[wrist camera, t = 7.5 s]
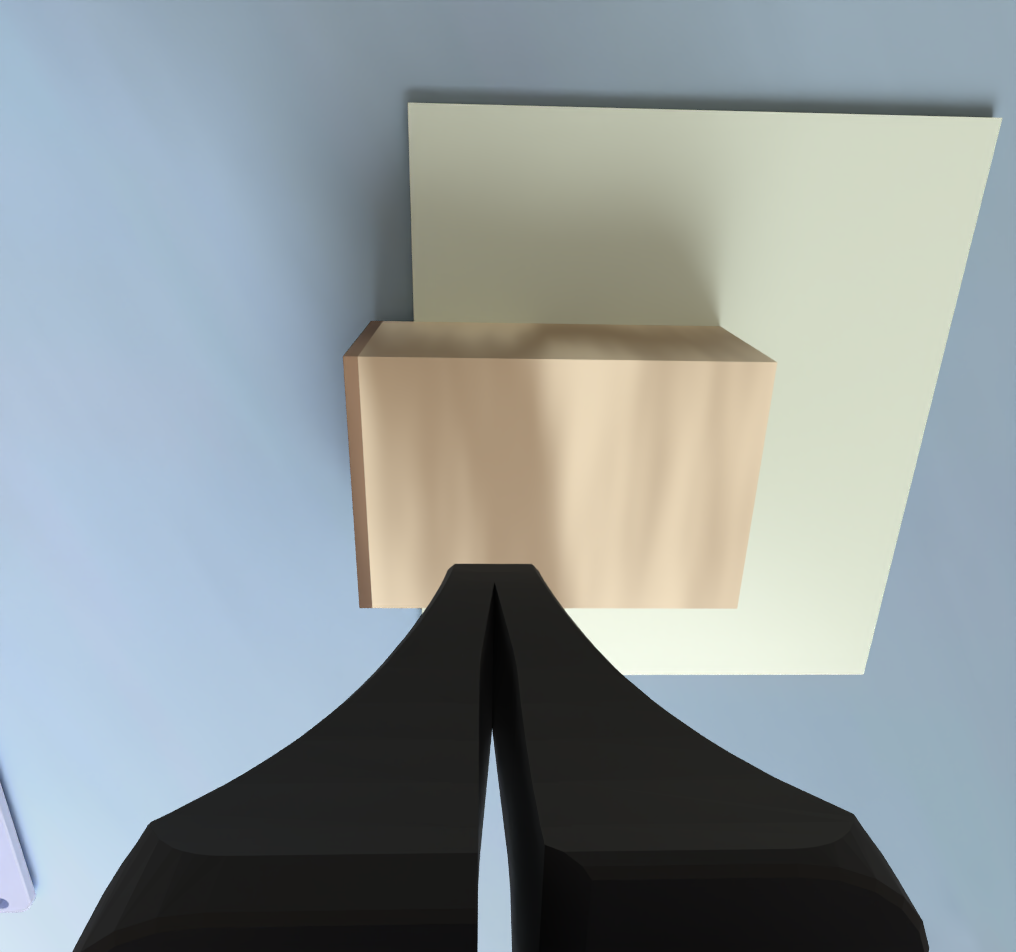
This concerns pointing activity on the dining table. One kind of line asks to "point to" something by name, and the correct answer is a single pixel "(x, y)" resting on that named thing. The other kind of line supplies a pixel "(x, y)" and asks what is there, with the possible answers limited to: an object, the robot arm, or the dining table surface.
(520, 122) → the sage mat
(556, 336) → the birch block
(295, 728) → the dining table surface
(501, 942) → the dining table surface
